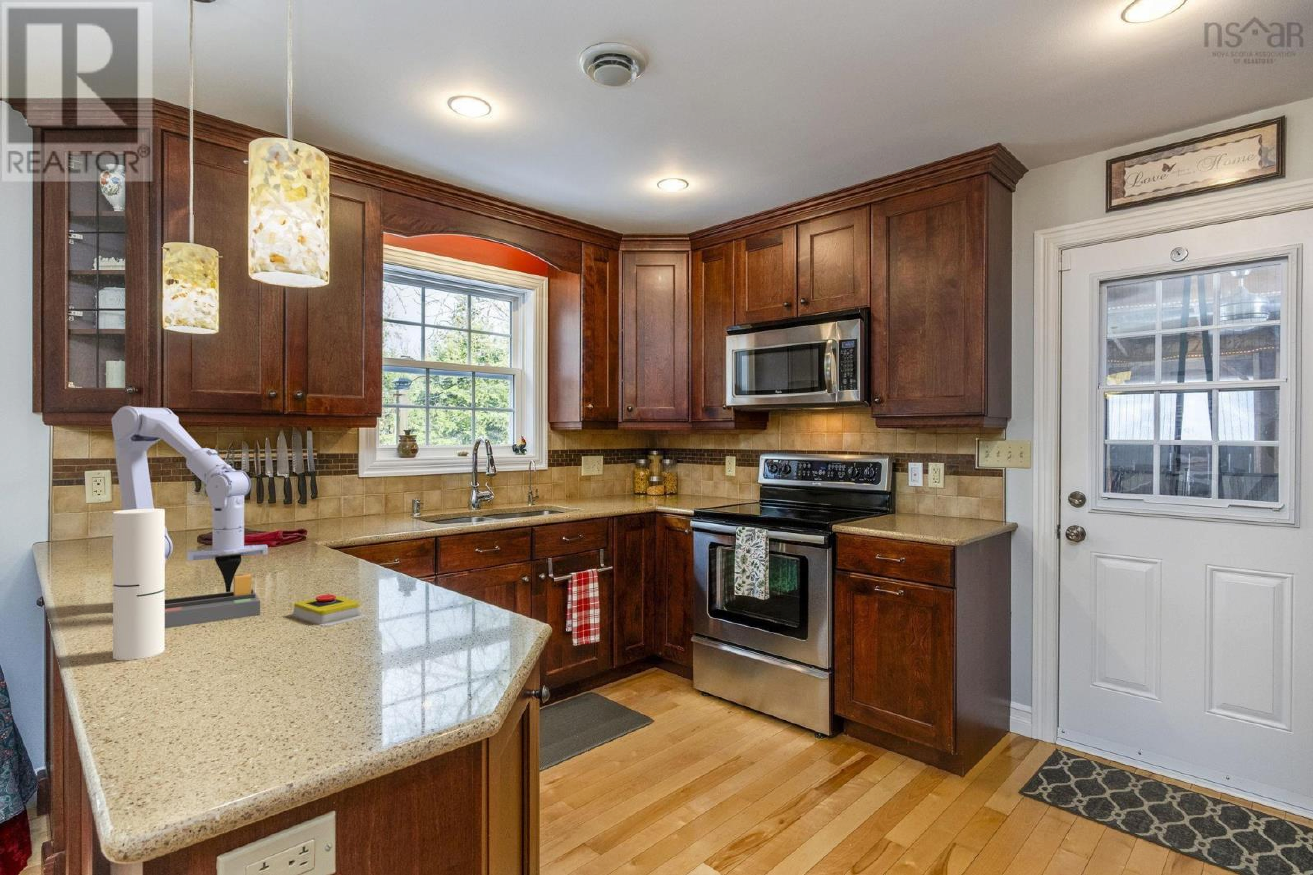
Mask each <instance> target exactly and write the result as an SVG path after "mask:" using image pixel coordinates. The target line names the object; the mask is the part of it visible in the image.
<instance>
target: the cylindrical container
mask: <svg viewBox="0 0 1313 875" xmlns="http://www.w3.org/2000/svg"><path fill="white" fill-rule="evenodd" d="M165 510H166V509H165V508H154V509H132V510H123V509H122V510H117V511H113V512H112V514H113V515H112V518H113V520H112V549H113V558H112V571H113V572H112V659H113V660H115V659H116V660H115V661H123V660H124V661H135V660H134V659H137V660H142V659H143V660H144V659H146V658H151V657H155V656H157V655H160V654H162V653H163V652H165V647H166V646H165V645H166V644H165V643H166V642H165V636H166V635H165V634H166V633H165V632H166V631H165V629H166V628H165V599H166V595H165V592H166V591H165V585H166V584H165V583H166V580H165V579H166V577H165V574H166V572H165V571H166V568H165V567H166V566H165V527H166V522H165V521H166V517H165V516H166V514H165V513H166V511H165Z"/></svg>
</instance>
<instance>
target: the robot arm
mask: <svg viewBox="0 0 1313 875" xmlns="http://www.w3.org/2000/svg"><path fill="white" fill-rule="evenodd" d="M179 418H180V417H179V416H177V415H176V414H175V413H174V412H173V411H172V410H171V409H169V408H167V407H144V406H141V407H139V406H131V405H125V406H122V407H120V408H119V409H118V410H117V411H116V412H115V414H114V415H113V416H112V417H111V428H112V434H113V435H112V436H113V440H114V441H113V442H114V445H113V446H114V456H115V463H116V464H115V465H116V470H117V478H118V485H119V491H120V492H119V493H120V497H121V505H122V506H121V507H122V510H132V509H155V507H154V498H153V492H152V484H151V477H150V471H149V470H150V469H149V463H148V455H147V451H148V450H149V449H150V447H151V446H153V445H155V444H156V443H158V442H160V441H161V440H163V441H164V442H165V443H167V444H168V445H169V446H170V447H171V448H173V449H174V450H176V451H177V453H179V454H180V455H182V457H184V458H185V459H186V460H185V461H186V462H185V465H186V468H188V470H190V471H191V472H192V473H193V474H194V475H195V476H196V477H197V478H199V479H200V481H202V482H203V483H204V484H205V485H204V486H205V487H204V488H205V493H206V494H207V496H208V497H209V500H210V502H209V503H210V504H209V505H211V508H212V547H211V548H210V547H209V548H204V549H203V548H202V549H195V550H194V549H193V550H187V551H186V561H187V562H194V561H201V560H214V561H215V563H216V565H217V567H218V569H219V571H220V574H221V575H222V577H223V582H224V585H225V593H226V592H231V588H232V584H233V582H234V575H236V573H237V570H238V568H239V566H241V562H242V559H243V558H242V557H247V556H260V555H262V556H263V555H264V556H265V555H269V550H268V548H269V546H268V545H267V544H252V545H245V496H247V495H248V494H249V493H250V491H251V488H252V487H251V486H252V482H251V478H250V477H249V475H248V474H247V473H246V471H245V470H236V469H235V468H233V467H232V465H230V464H228V463H227V462H225V460H224V459H222V458H221V457H220V456H219V455H218V454H219V452H218V451H217V450H216V449H215V448H214V449H211V448H209V447H204V448H203V447H202V446H200V444H198V443H197V442H196V440H195V439H194V438H193V437H192V436H191V435H190V434H189V433H188V431H186V430H185V428H183V426H182V425H181V424H180V419H179ZM167 528H168V527H167V526H165V564H167V560H168V559H169V558H170V557H171V556H172V553H173V549H174V546H173V541H172V540H171V538H170V536H169V534H168V529H167ZM111 557H112V559H113V548H112V549H111Z"/></svg>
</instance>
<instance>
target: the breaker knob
mask: <svg viewBox="0 0 1313 875" xmlns="http://www.w3.org/2000/svg"><path fill="white" fill-rule="evenodd" d="M251 589H252V575H251V574H250V573H243V574H242V573H241V574H235V575H234V578H233V592H234V596H238V595H247V594H251Z"/></svg>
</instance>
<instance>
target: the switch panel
mask: <svg viewBox="0 0 1313 875" xmlns="http://www.w3.org/2000/svg"><path fill="white" fill-rule="evenodd" d="M259 598H260V597H259V596H258V595H257V593H256V591H255V589H253V588H251V594H247V595H238V596H234V591H230V592H226V591H225V592H220V593H218V592H217V593H209V594H201V595H192V596H191V595H190V596H184V597H176V598H175V597H174V598H165V629H167V628H174V627H180V626H189V625H196V624H197V625H198V624H203V623H204V624H205V623H209V622H210V623H211V622H217V621H224V620H230V619H231V620H233V619H241V618H247V617H248V618H249V617H255V616H261V600H260V599H259Z"/></svg>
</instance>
